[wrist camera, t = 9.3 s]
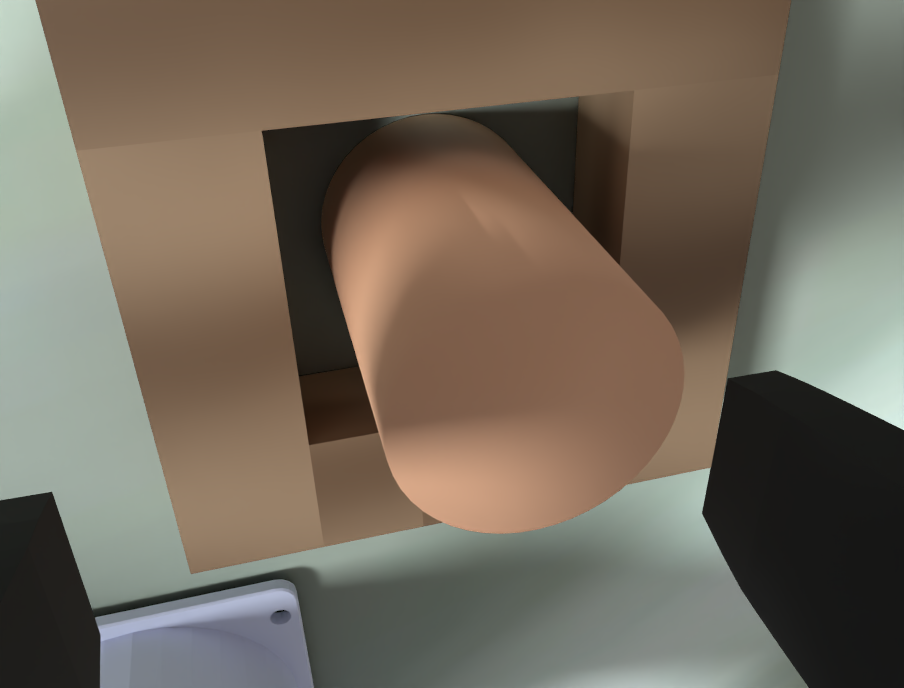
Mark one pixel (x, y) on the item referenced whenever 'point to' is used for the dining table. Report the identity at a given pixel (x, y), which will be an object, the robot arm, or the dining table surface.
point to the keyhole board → (367, 97)
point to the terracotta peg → (492, 331)
